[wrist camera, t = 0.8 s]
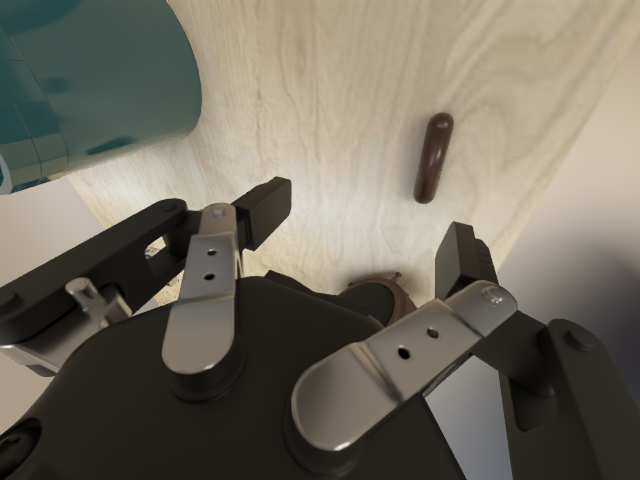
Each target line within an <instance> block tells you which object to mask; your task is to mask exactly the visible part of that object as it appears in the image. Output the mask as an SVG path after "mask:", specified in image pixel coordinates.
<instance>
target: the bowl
mask: <svg viewBox="0 0 640 480" xmlns="http://www.w3.org/2000/svg"><path fill="white" fill-rule="evenodd" d="M200 110H201V84H200V78H199V73H198V69H197V65H196V61H195V58H194V55H193V52H192V49H191V46H190V44H189V42H188V39H187V37H186V35H185V32H184V30H183V29H182V27H181V25H180V23H179V21H178V19H177V17H176V16H175V14H174V13H173V11H172V9H171V8H170V6H169V5H168V4H167V2H166V1H165V0H0V195H5V194H12V193H15V192H18V191H21V190H24V189H27V188H30V187H34V186H36V185H40V184H43V183H46V182H49V181H52V180H56V179H59V178H61V177H62V176H65V175H68V174H72V173H75V172H78V171H81V170H84V169H87V168H91V167H94V166H97V165H100V164H103V163H106V162H109V161H113V160H116V159H119V158H122V157H125V156H128V155H132V154H135V153H138V152H141V151H144V150H147V149H150V148H154V147H157V146H160V145H163V144H166V143H169V142H172V141H176V140H179V139H182V138H184V137H186V136H188V135H189V134H190V133H191V132H192V131H193V129H194V128H195V126H196V124H197V122H198V119H199V115H200Z"/></svg>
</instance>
